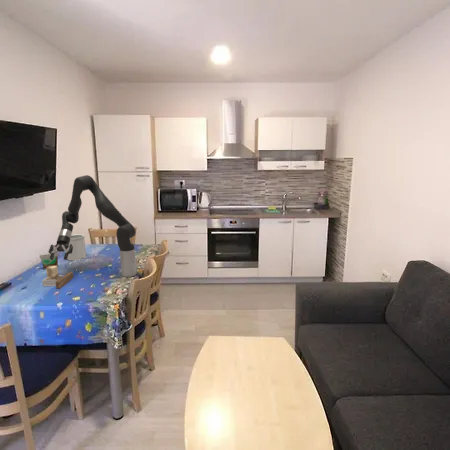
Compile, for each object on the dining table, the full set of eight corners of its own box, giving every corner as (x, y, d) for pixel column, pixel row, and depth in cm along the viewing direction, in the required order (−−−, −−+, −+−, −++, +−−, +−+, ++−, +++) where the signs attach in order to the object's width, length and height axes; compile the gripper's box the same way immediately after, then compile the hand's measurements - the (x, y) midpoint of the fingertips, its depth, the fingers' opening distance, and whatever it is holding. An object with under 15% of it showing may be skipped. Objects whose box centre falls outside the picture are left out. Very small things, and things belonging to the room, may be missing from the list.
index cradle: (63, 280, 203) (62, 275, 202) (56, 285, 194) (55, 280, 194) (50, 280, 203) (49, 275, 202) (43, 286, 194) (42, 280, 193)
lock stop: (59, 280, 200) (57, 265, 198) (55, 283, 196) (53, 268, 194) (52, 281, 200) (50, 265, 198) (48, 283, 196) (46, 268, 194)
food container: (38, 270, 223) (36, 256, 221) (41, 267, 229) (39, 254, 227) (58, 268, 226) (56, 254, 224) (60, 265, 232) (58, 252, 230)
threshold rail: (73, 277, 207) (72, 271, 206) (59, 288, 190) (58, 282, 189) (70, 277, 207) (69, 271, 206) (56, 288, 190) (55, 282, 189)
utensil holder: (81, 260, 243) (79, 238, 239) (62, 261, 243) (59, 238, 240) (90, 255, 257) (87, 234, 254) (71, 255, 258) (69, 234, 254)
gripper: (51, 234, 210) (44, 256, 201) (72, 234, 210) (66, 256, 201) (56, 240, 216) (49, 262, 207) (77, 240, 216) (71, 261, 207)
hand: (58, 259), depth 204 cm, fingers open, 8 cm apart
